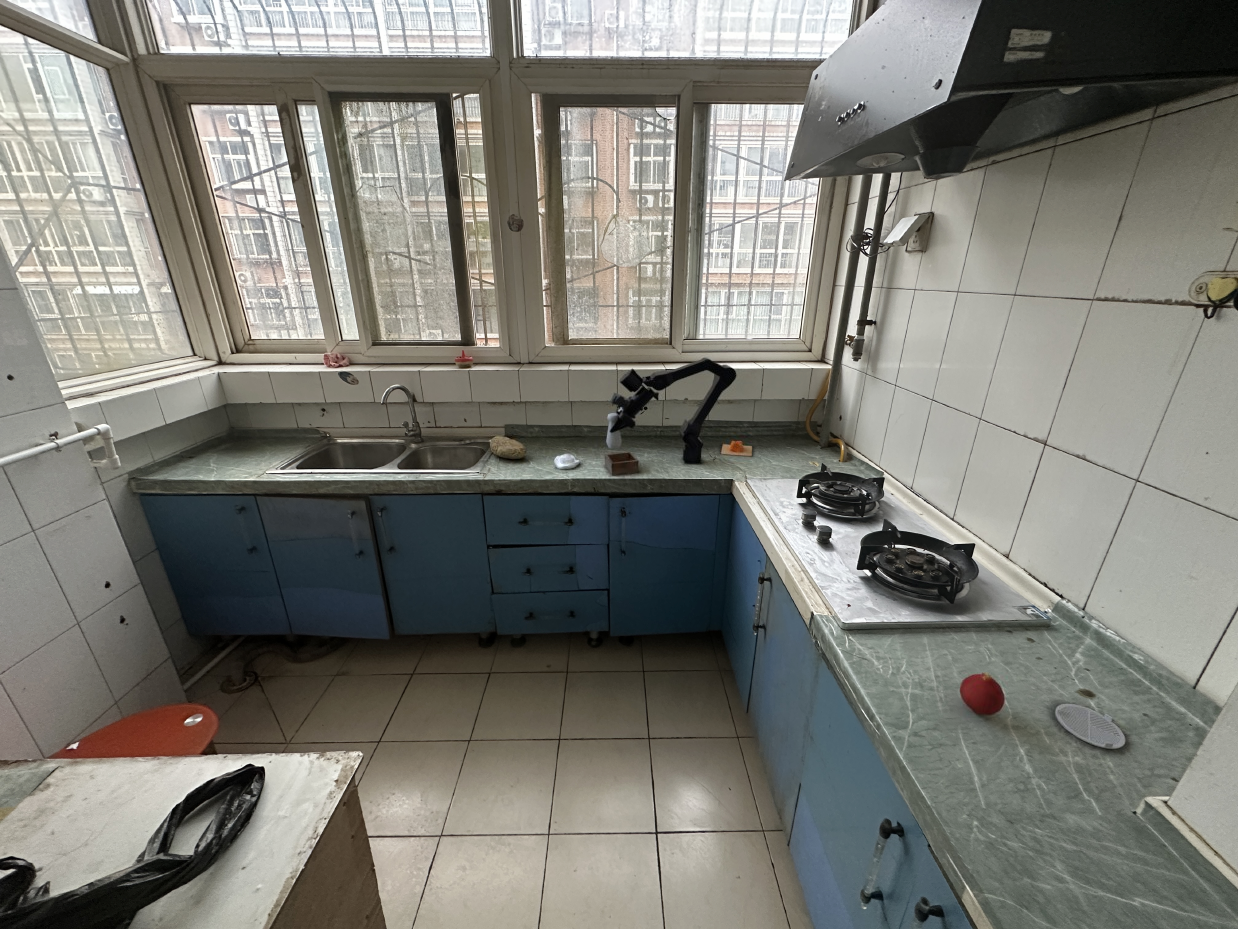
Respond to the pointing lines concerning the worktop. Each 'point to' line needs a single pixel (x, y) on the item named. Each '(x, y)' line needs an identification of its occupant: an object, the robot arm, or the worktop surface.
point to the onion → (982, 694)
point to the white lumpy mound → (566, 461)
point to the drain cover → (1090, 726)
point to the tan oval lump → (507, 448)
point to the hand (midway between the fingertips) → (610, 430)
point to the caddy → (621, 463)
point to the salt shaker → (615, 437)
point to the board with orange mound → (737, 449)
